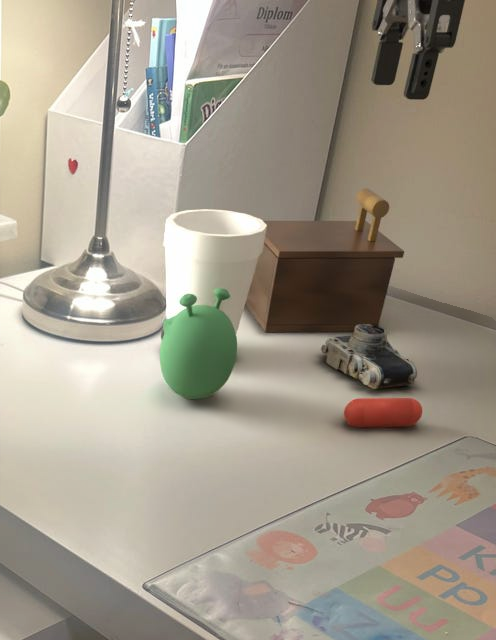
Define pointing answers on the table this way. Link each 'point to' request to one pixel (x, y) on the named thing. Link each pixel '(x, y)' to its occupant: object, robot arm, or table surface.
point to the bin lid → (335, 235)
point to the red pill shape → (382, 412)
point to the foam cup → (212, 258)
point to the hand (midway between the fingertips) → (397, 91)
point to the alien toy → (198, 348)
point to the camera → (369, 358)
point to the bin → (318, 292)
